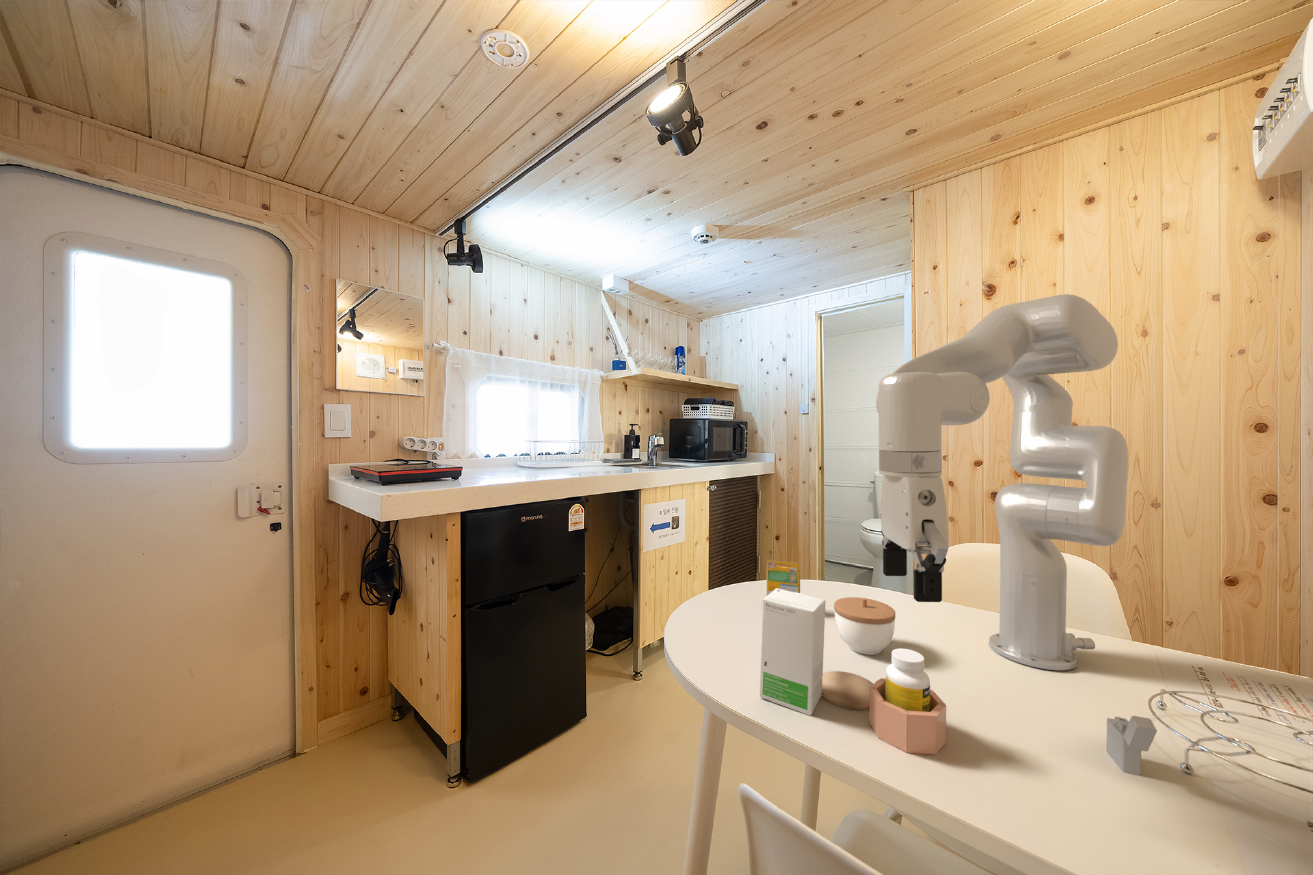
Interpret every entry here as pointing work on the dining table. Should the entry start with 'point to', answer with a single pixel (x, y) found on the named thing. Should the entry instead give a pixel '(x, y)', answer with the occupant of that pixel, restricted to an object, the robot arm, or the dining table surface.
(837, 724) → the dining table surface
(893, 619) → the lidded jar
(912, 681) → the supplement bottle
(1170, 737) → the dining table surface
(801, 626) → the skincare box
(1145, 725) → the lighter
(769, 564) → the crayon box
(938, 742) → the terracotta octagonal planter pot
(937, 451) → the robot arm
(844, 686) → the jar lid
